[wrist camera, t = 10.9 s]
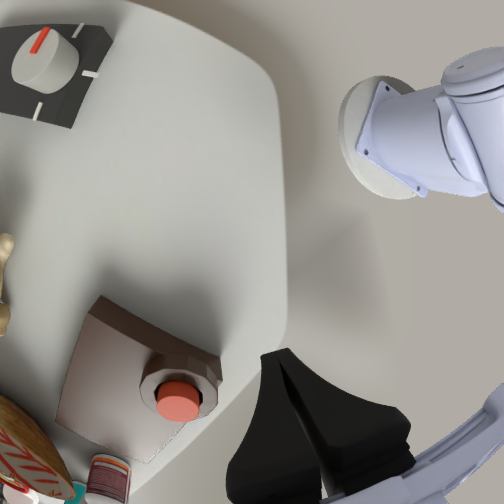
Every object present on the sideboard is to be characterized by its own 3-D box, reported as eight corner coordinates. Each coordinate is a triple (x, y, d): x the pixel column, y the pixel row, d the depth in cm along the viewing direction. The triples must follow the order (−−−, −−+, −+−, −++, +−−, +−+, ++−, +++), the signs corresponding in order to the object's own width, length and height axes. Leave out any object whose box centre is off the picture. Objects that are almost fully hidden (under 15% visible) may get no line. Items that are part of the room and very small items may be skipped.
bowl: (44, 468, 27) (35, 497, 19) (-49, 377, 19) (-68, 401, 11) (116, 458, 27) (109, 501, 19) (-18, 327, 19) (-52, 363, 11)
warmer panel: (135, 44, 15) (126, 26, 12) (91, 135, 17) (73, 131, 14) (-6, 37, 10) (-21, 30, 7) (-37, 106, 12) (-54, 104, 9)
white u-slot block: (32, 485, 29) (25, 511, 20) (39, 499, 33) (34, 522, 23) (3, 467, 27) (-7, 492, 17) (13, 485, 30) (7, 506, 20)
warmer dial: (64, 97, 13) (36, 84, 9) (28, 91, 12) (0, 80, 8) (88, 47, 12) (68, 26, 9) (51, 44, 11) (28, 27, 8)
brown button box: (226, 350, 24) (232, 388, 19) (149, 445, 26) (146, 475, 22) (105, 285, 20) (82, 313, 15) (62, 404, 23) (50, 432, 18)
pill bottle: (85, 450, 26) (72, 508, 15) (120, 453, 26) (111, 517, 16) (105, 470, 28) (97, 523, 17) (138, 473, 28) (134, 530, 18)
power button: (206, 389, 19) (207, 405, 17) (187, 411, 20) (187, 427, 18) (168, 373, 18) (166, 389, 16) (152, 397, 19) (150, 412, 17)
